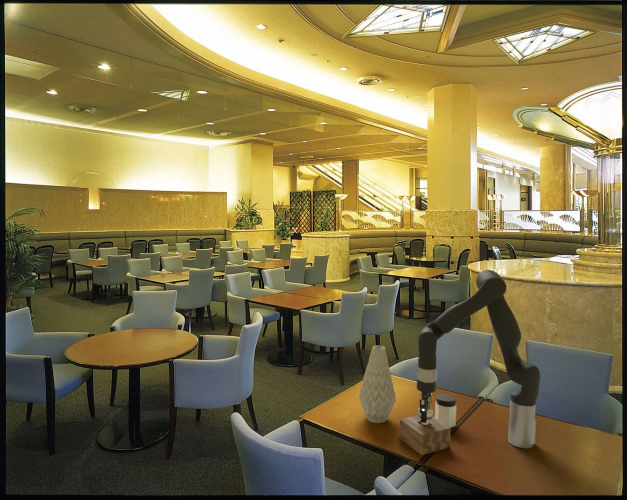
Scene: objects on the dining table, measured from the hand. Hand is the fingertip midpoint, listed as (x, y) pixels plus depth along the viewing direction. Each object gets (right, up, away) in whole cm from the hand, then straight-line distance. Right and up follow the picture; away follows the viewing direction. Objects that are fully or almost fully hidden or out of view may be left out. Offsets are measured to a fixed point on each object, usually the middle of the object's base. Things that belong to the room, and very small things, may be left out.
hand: (425, 418), depth 177 cm
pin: (0, -6, 0) cm, 6 cm away
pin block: (0, -10, +1) cm, 10 cm away
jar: (+13, -9, +17) cm, 23 cm away
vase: (-16, -8, +21) cm, 28 cm away
